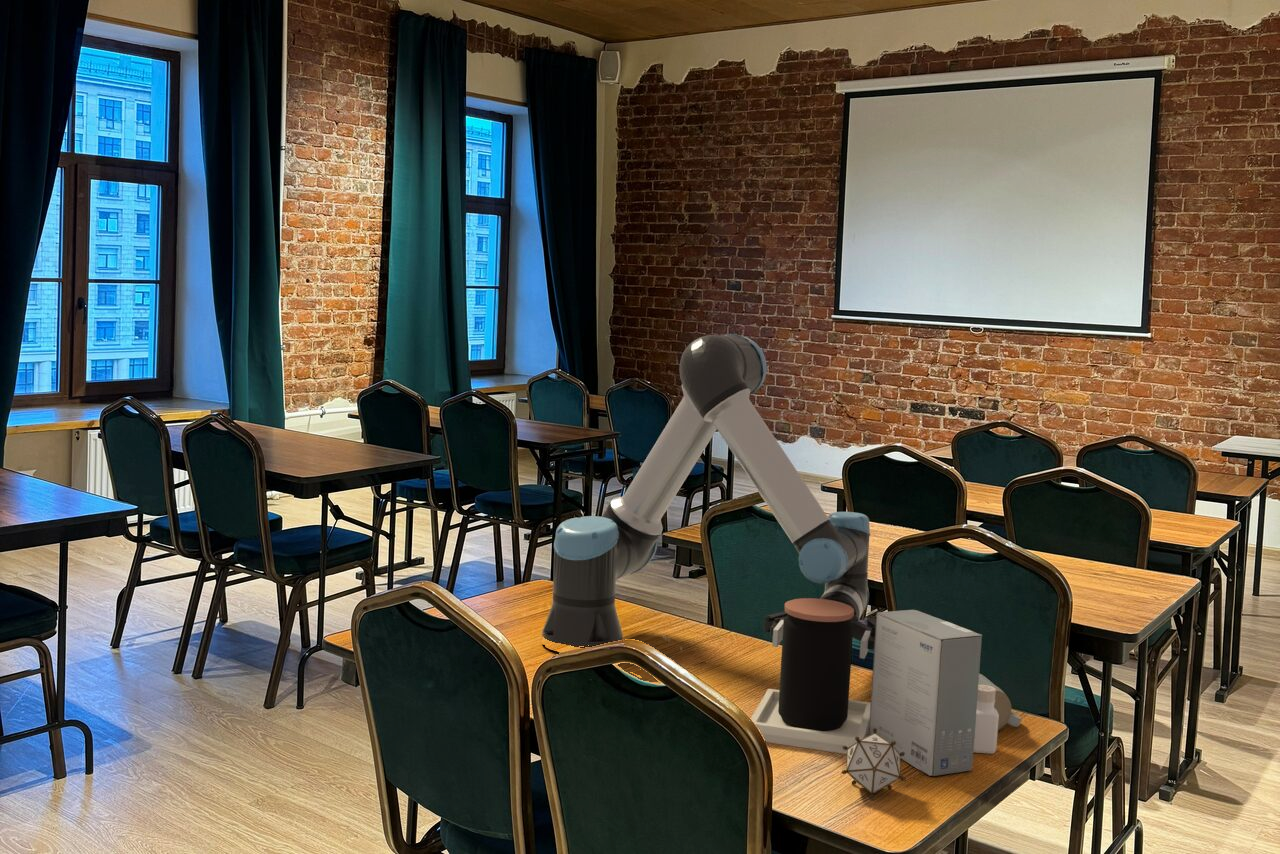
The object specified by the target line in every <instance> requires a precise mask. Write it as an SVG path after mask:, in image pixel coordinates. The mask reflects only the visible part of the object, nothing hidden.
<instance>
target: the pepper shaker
mask: <svg viewBox="0 0 1280 854" xmlns="http://www.w3.org/2000/svg"><path fill="white" fill-rule="evenodd" d="M995 694H996V689H995V688H994V687H992V686H989V685H978V697H977V710H976V725H975V738H974V751H973V753H977V754H991V755H992V754H995V753H996V751H997V743H998V731H999V730H998V720H999V714H998V712H997V710H996V709H995V708H994V702H995Z"/></svg>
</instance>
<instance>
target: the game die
mask: <svg viewBox="0 0 1280 854" xmlns="http://www.w3.org/2000/svg"><path fill="white" fill-rule="evenodd" d="M873 732H874V733H873V734H871V735H869V734H868V736H867V737H865V738H863V739H861V740H860V739H859V737H855V740H856V741H857V742H856V743H855V744H853V745H852V746H850V747H849V748H847V746H842V747H843V749H844V750H847V754H846V767H845V768H846V769H842V771H841V773H840V774H843V775H846V774H848V775H849V777H851V778H852V781H851V785H852V786H853V785H856V784H858V785H859V786H861V787H862V788H863V789H864V790H866V792H868V793H870V795H869V798H870V800H871V801H873V800H874V799H875V795H874V794H876V793H878V792H880V791H882V790H883V789H884V788H886V787H887V789H890V790H892V785H891V784H892V783H894V782H896V781H898V780H901V781H902V782H906V781H907V779H906V778H905V776H903V775H902V776H901V758H900V756H904V754H905V753H904V752H902V753H900V754H899V752H898V751H897V750H896V749H895V747H894V746H893V745H895V744H896V741H892V742H891V743H889V742H888V741H886V740H885V739H884V738H882V737H881V736H879V735H878V734H876V732H877V729H876V727H874V729H873Z"/></svg>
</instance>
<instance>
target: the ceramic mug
mask: <svg viewBox="0 0 1280 854" xmlns="http://www.w3.org/2000/svg"><path fill="white" fill-rule="evenodd" d="M978 685H989V686H992V687H994V688H995V689H996V694H995V702H994V708H995V709H996V710H997V712H998V714H999V720H998V731H1000V730H1001V729H1003V728H1004V727H1006V725H1007V724H1008V725H1009V726H1011V727H1014V728H1018V727H1019V725H1020V723H1022V718H1021V717H1020V715H1018V714H1017V713H1015V712H1014V711H1013V710H1012V703H1011V701H1010V698H1009V697H1008V695H1007V694H1006V693H1005V692H1004V691H1003V690H1002V689H1001V688H1000V687H999V686H997V685H995V684H994V683H993V682H992V681H991V680H989V679H988V678H987V677H986V676H984V675H983V674H981V673H980V672H979V683H978Z"/></svg>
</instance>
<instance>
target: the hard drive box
mask: <svg viewBox="0 0 1280 854" xmlns="http://www.w3.org/2000/svg"><path fill="white" fill-rule="evenodd" d="M875 621H876V629H875V644H874V650H873V660H872V661H873V664H872V680H871V693H870V703H871V707H870V722H869V733H868V736H869V735H871V734H873V733H874V732H873V729H874V727H876V729H877V732H876V734H878V735H879V736H881V737H882V738H884V739H885V740H886V741H888V742H889V743H891V742H892V741H896V744H895V745H893V746H894V747H895V749H896V750H897V751H898V752H899V754H900V753H902V752H904V753H905V754H904V756H900V760H902V761H904V762H906V763H907V764H909V765H910V766H911V767H914V768H915V769H917V770H919V771H921V772H923V773H925V774H926V775H928V776H930V777H931V776H933V777H936V776H942V775H948V774H949V775H950V774H956V773H962V772H970V771H972V770H973V763H974V752H973V751H974V738H975V725H976V710H977V697H978V683H979V673H980V669H981V667H980V665H981V653H982V639H983V634H981V633H977V632H975V631H974V630H970V629H968V628H965V627H962V626H959V625H957V624H954V623H953V622H950V621H946V620H945V619H944V620H943V619H941V618H938V617H936V616H932V615H931V614H929V613H928V614H927V613H925V612H923V611H920V610H917V609H904V610H894V611H893V610H892V611H880V612H879V611H878V612H876V616H875Z"/></svg>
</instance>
